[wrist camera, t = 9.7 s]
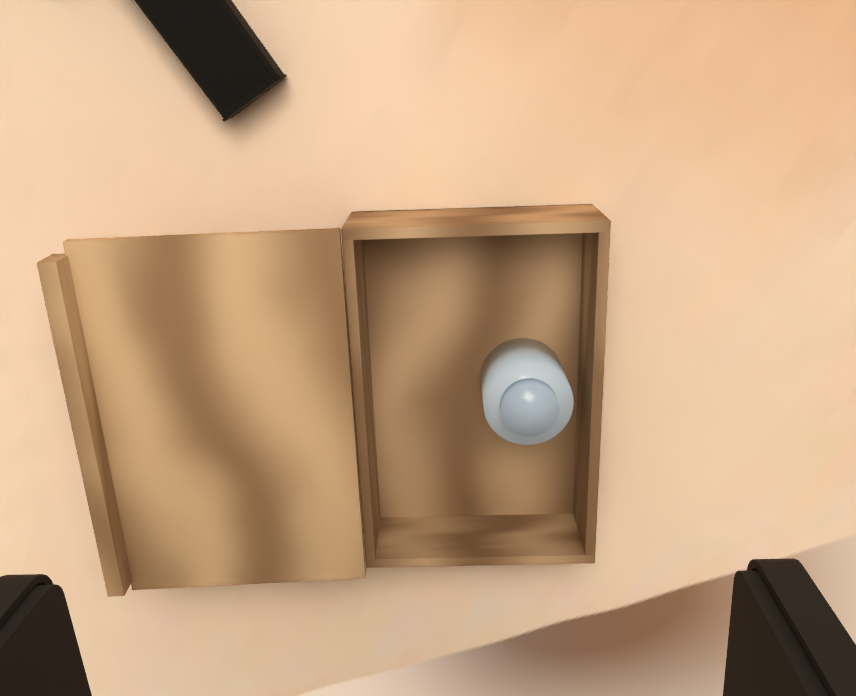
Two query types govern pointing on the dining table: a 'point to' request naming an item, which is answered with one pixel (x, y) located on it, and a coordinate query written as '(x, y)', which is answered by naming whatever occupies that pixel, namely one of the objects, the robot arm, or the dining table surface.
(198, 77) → the submachine gun
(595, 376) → the box
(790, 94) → the dining table surface
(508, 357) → the blue jar
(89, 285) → the lid
